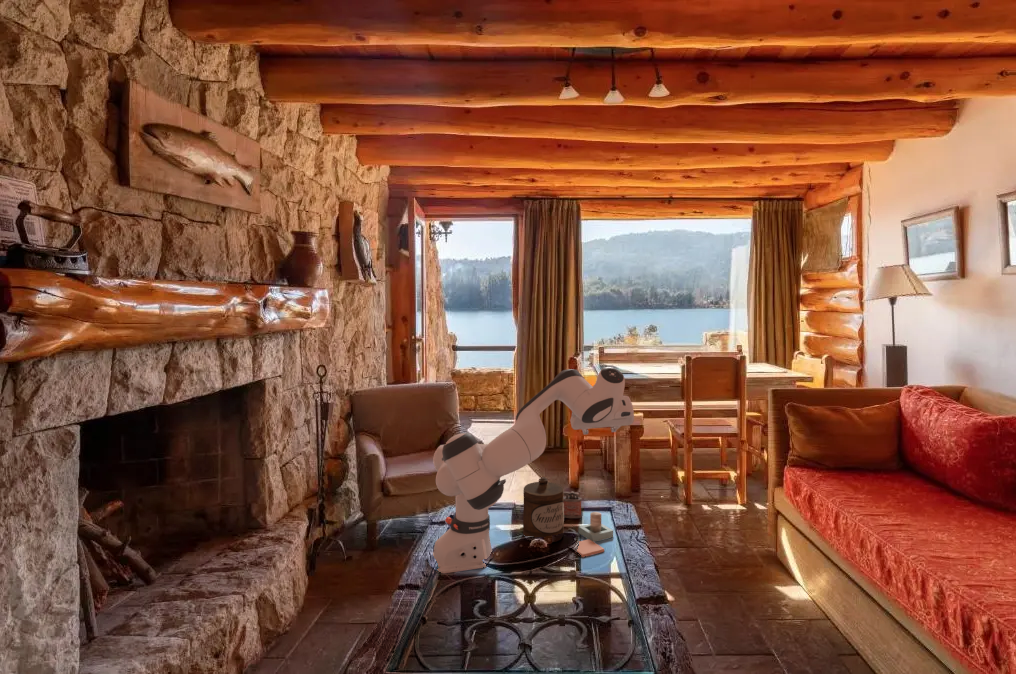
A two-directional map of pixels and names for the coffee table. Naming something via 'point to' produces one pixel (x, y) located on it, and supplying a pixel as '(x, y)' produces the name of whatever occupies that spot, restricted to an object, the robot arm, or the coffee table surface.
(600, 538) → the pocket holder
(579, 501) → the lighter
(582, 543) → the terracotta tile
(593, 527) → the peg
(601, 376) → the robot arm
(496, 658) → the coffee table surface
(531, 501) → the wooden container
